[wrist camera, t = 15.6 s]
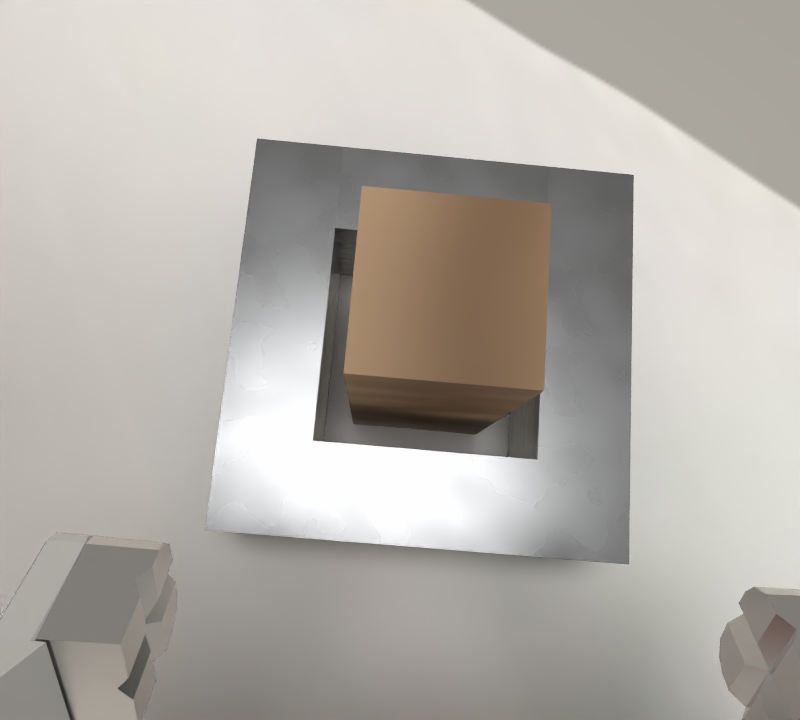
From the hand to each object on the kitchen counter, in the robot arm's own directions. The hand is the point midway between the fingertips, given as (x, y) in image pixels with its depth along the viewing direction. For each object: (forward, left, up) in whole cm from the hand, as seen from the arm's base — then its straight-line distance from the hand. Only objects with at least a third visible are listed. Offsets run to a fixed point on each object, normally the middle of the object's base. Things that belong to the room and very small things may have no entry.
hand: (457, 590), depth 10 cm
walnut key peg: (0, +6, -12) cm, 13 cm away
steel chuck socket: (0, +6, -12) cm, 13 cm away
